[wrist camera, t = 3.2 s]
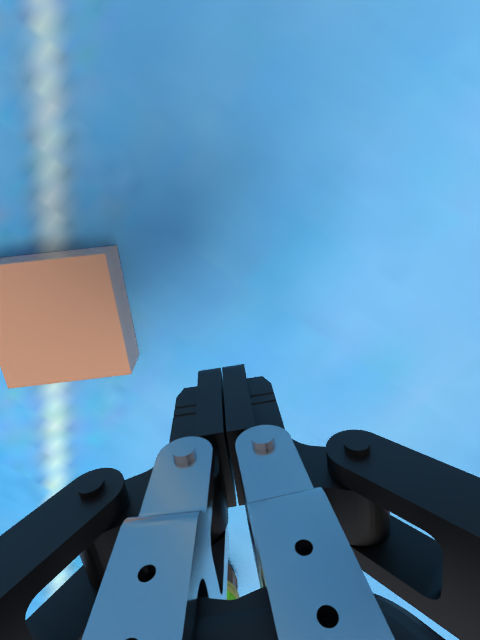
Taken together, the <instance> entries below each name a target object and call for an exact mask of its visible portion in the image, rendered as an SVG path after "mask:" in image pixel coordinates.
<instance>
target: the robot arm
mask: <svg viewBox="0 0 480 640" xmlns="http://www.w3.org/2000/svg"><path fill="white" fill-rule="evenodd" d="M222 372H223V378H222ZM222 372H221V368H216V369H209V370H202V371H199V372H198V385H197V386H196V387H189V388H184V389H183V390H182V392H181V393H180V394H179V395H178V397H177V398H176V404H175V410H174V418H173V423H172V429H171V435H170V441H169V444H167V445H166V446H165V447H163V448H162V449H161V450H160V452H159V453H158V455H157V458H156V461H155V464H154V467H153V468H152V469H150V470H148V471H146V472H144V473H142V474H139V475H137V476H134V477H132V478H129V479H127V480H124V478H123V475H122V474H121V472H120V471H118V470H116V469H113V468H100V469H95V470H92V471H89V472H87V473H85V474H83V475H81V476H79V477H78V478H76V479H75V480H74V481H72V482H71V483H70V484H68V485H67V486H66V487H64V488H63V489H62V490H60V491H59V492H58V493H56V494H55V495H54V496H52V497H51V498H50V499H48V500H47V501H46V502H44V503H43V504H42V505H41V506H39V507H38V508H37V509H35V510H34V511H33V512H31V513H30V514H29V515H27V516H26V517H25V518H23V519H22V520H21V521H19V522H18V523H17V524H15V525H14V526H13V527H11V528H10V529H9V530H8V531H6V532H5V533H4V534H2V535H1V536H0V640H445V639H444V638H443V637H441V636H440V635H439V634H437V633H436V632H435V631H434V630H432V629H431V628H430V627H428V626H427V625H426V624H424V623H423V622H422V621H421V620H419V619H418V618H417V617H415V616H414V615H413V614H411V613H410V612H408V611H407V610H405V609H404V608H402V607H401V606H399V605H397V604H396V603H394V602H392V601H390V600H388V599H386V598H384V597H382V596H379V595H376V594H374V593H373V592H372V590H371V588H370V586H369V584H368V582H367V580H366V578H365V576H364V574H363V571H364V572H366V573H367V574H368V575H370V576H371V577H373V578H374V579H375V580H377V581H378V582H380V583H381V584H382V585H384V586H385V587H387V588H388V589H389V590H391V591H392V592H394V593H395V594H396V595H398V596H399V597H401V598H402V599H403V600H405V601H406V602H408V603H409V604H410V605H412V606H413V607H415V608H416V609H417V610H419V611H420V612H422V613H423V614H424V615H426V616H427V617H429V618H430V619H432V620H433V621H434V622H436V623H437V624H439V625H440V626H441V627H443V628H444V629H446V630H447V631H448V632H450V633H451V634H453V635H454V636H455V637H457V638H458V639H460V640H480V478H479V477H477V476H474V475H472V474H470V473H467V472H465V471H462V470H460V469H458V468H455V467H453V466H450V465H448V464H446V463H443V462H441V461H438V460H436V459H434V458H431V457H429V456H426V455H424V454H422V453H419V452H417V451H414V450H412V449H409V448H407V447H405V446H402V445H400V444H397V443H395V442H393V441H390V440H388V439H385V438H383V437H381V436H378V435H376V434H373V433H371V432H368V431H363V430H346V431H342V432H339V433H337V434H335V435H333V436H332V437H331V438H330V439H329V440H328V442H327V444H326V447H320V446H309V445H305V444H301V443H299V442H297V441H295V440H293V439H292V438H291V436H290V434H289V433H288V432H287V431H286V430H285V428H284V425H283V422H282V418H281V415H280V412H279V408H278V405H277V402H276V398H275V395H274V392H273V389H272V385H271V383H270V382H269V381H268V380H266V379H265V378H264V377H262V376H260V377H254V378H246V373H245V368H244V364H241V365H235V366H228V367H222ZM234 479H235V481H234ZM235 485H236V491H237V497H238V503H239V505H245V508H246V514H247V520H248V526H249V532H250V537H251V542H252V547H253V552H254V557H255V562H256V567H257V572H258V577H259V582H260V587H261V588H260V589H258V590H256V591H254V592H251V593H249V594H247V595H245V596H242V597H240V598H238V599H234V600H227V573H228V545H229V532H228V527H227V524H228V507H234V506H236V493H235ZM390 512H392V513H394V514H395V515H397V516H399V517H401V518H403V519H404V520H406V521H408V522H410V523H412V524H413V525H415V526H417V527H419V528H421V529H422V530H424V531H426V532H427V533H429V534H430V535H431V536H432V537H433V538H434V539H435V540H434V539H432V538H430V537H429V536H427V535H425V534H423V533H421V532H420V531H418V530H416V529H414V528H413V527H411V526H409V525H407V524H405V523H404V522H402V521H400V520H398V519H397V518H395V517H393V516H391V515H390ZM78 555H80V558H81V560H82V563H83V566H82V567H81V568H80V569H79V570H78V571H77V572H76V573H75V574H73V575H72V576H71V577H70V578H69V579H68V580H67V581H66V582H65V583H64V584H63V585H62V586H61V587H60V588H59V589H58V590H57V591H56V592H55V593H54V594H53V595H52V596H51V597H50V598H49V599H48V600H47V601H46V602H45V603H43V604H42V605H41V606H40V607H39V608H38V609H37V610H36V611H35V612H34V613H33V614H32V615H31V616H30V617H29V618H28V619H27V620H25V615H26V611H27V609H28V606H29V605H30V603H31V601H32V600H33V598H34V597H35V596H36V595H37V594H38V593H39V592H40V591H41V590H42V589H43V588H44V587H45V586H46V585H47V584H48V583H49V582H51V581H52V580H53V579H54V578H55V577H56V576H57V575H58V574H59V573H60V572H61V571H62V570H63V569H64V568H66V567H67V566H68V565H69V564H70V563H71V562H72V561H73V560H74V559H75V558H76V557H77V556H78ZM362 570H363V571H362Z"/></svg>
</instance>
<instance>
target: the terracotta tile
mask: <svg viewBox="0 0 480 640" xmlns="http://www.w3.org/2000/svg"><path fill="white" fill-rule="evenodd" d="M138 357H139V350H138V345H137V340H136V335H135V331H134V326H133V321H132V316H131V311H130V306H129V302H128V297H127V292H126V287H125V282H124V277H123V272H122V268H121V263H120V258H119V253H118V248H117V245H113V246H104V247H94V248H85V249H76V250H66V251H57V252H47V253H38V254H29V255H19V256H10V257H0V366H1V369H2V372H3V375H4V378H5V380H6V383H7V386H8V388H17V387H25V386H34V385H42V384H51V383H59V382H68V381H77V380H85V379H94V378H102V377H111V376H119V375H128V374H132V371H133V369H134V366H135V364H136V361H137V359H138Z"/></svg>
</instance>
